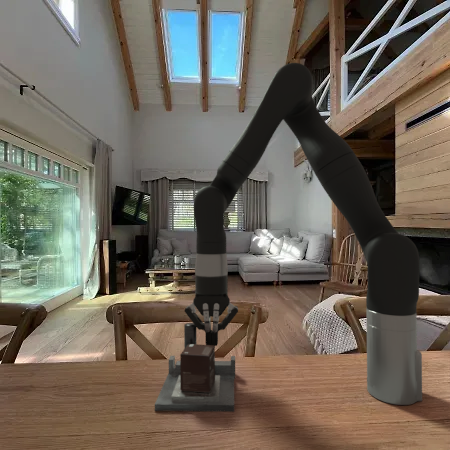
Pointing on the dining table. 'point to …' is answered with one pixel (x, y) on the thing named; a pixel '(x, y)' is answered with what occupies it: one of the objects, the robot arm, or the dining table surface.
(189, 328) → the lever
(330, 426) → the dining table surface
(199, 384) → the box
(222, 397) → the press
